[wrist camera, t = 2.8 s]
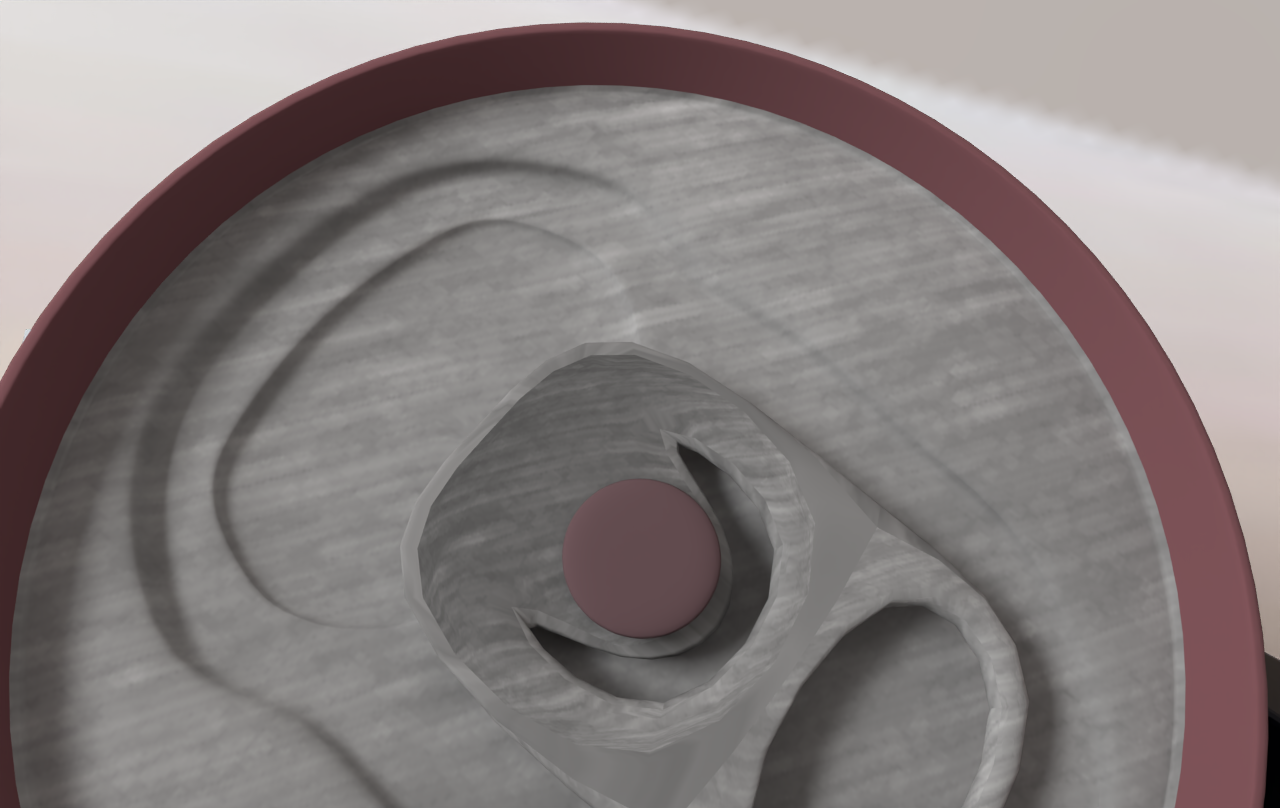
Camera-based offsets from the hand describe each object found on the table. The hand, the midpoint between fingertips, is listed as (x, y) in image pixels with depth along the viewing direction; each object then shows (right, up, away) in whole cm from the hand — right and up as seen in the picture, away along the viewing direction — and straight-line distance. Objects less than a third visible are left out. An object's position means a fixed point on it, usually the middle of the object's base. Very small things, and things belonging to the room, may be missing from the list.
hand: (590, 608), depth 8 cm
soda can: (-1, -3, +7) cm, 8 cm away
